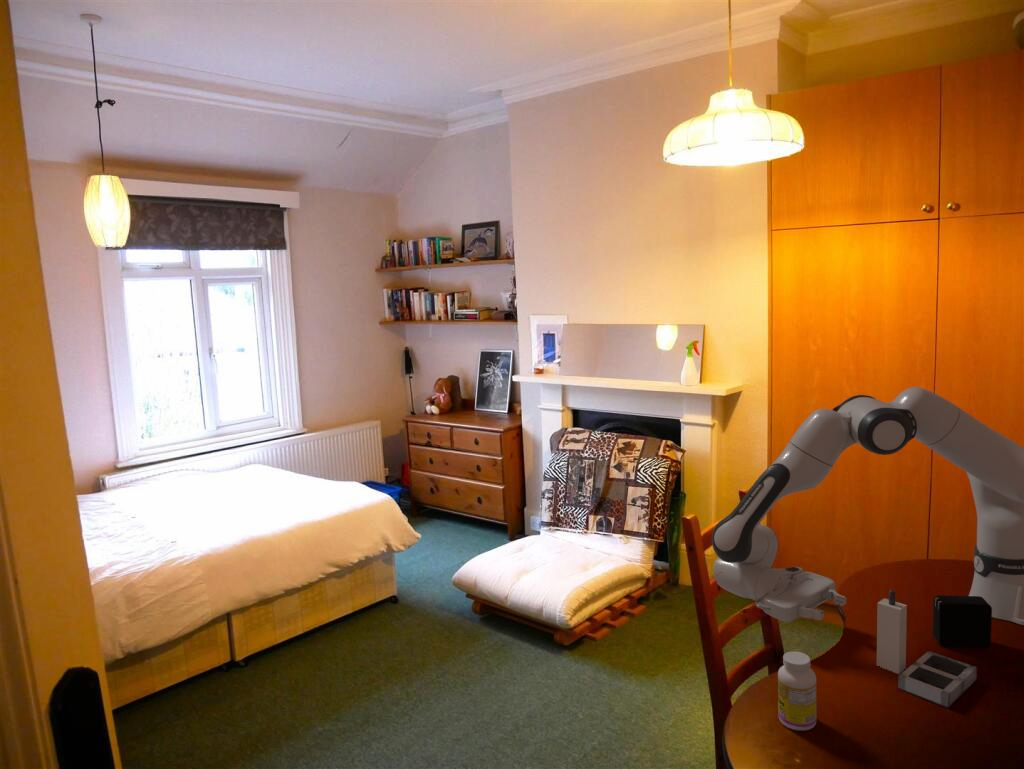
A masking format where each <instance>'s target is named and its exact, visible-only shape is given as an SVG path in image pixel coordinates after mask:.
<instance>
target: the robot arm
mask: <svg viewBox="0 0 1024 769" xmlns="http://www.w3.org/2000/svg"><path fill="white" fill-rule="evenodd" d="M913 439H915V440H917V441H919V442H920V443H922V444H923V445H925V446H926V447H927V448H929V449H931V450H932V451H934V452H935V453H936V454H938V455H940V456H941V457H943V458H944V459H945V460H948V462H950V463H952V464H954V465H955V466H957V467H958V468H960V469H961V470H963V471H965V473H966V475H967V477H968V480H969V484H970V487H971V491H972V496H973V500H974V504H975V510H976V520H977V522H976V545H975V546H974V551H973V552H974V553H973V567H974V574H973V579H972V584H971V587H970V591H969V594H968V596H980V597H982V598H983V599H984V600H985V601H986V602H987V603H988V604H989V605H990V606H991V607H992V618H994V619H998V620H1004V621H1008V622H1013V623H1016V624H1018V625H1021V626H1024V447H1023V446H1021V445H1019V444H1018V443H1017V442H1014V440H1012V439H1010V438H1008V437H1006V436H1005V435H1003V434H1001V433H999V432H998V431H996V430H995V429H992V428H991V427H989V426H987V425H986V424H984V423H983V422H981V421H980V420H978V419H976V418H975V417H973V416H972V415H971V414H969V413H967V411H965V410H963V409H962V408H960V407H959V406H957V405H956V404H954V403H952V401H950V400H948V399H946V398H944V397H942V396H941V395H939V394H937V393H934V392H932V391H930V390H928V389H925V388H923V387H920V386H919V387H918V386H912V387H908V388H906V389H904V390H902V391H901V392H900V393H899V394H898V395H897V396H896V397H895V398H894V399H893V400H892V401H889V402H884V401H883V400H879V399H877V398H876V397H873V396H871V395H865V394H857V395H853V396H850V397H847V398H846V399H845V400H843V401H842V402H841V403H840V404H839V405H836V406H835V407H834V408H832V409H829V408H819V409H816V410H814V411H813V412H812V413H810V414H809V416H807V418H806V419H805V420H804V421H803V422H802V423H801V424H800V426H799V427H798V428H797V430H796V431H795V433H793V435H792V437H791V438H790V439H789V442H788V443H787V445H785V447H784V449H783V450H782V451H781V453H780V454H779V455H778V457H777V458H776V460H774V462H773V463H772V464H771V465H769V466H768V467H767V468H766V469H765V470H764V471H763V472H762V473H761V474H760V475H759V477H758V478H757V479H756V481H755V482H754V483H753V485H751V487H750V488H749V489H748V491H747V492H746V493H745V495H744V496H743V497H742V499H740V501H739V503H738V504H737V505H736V506H735V507H734V509H733V510H732V512H730V513H729V514H727V516H725V517H724V518H722V519H721V520H720V521H718V523H716V524H715V526H714V528H713V530H712V534H711V545H712V548H713V551H714V553H715V555H716V556H717V558H716V559H715V561H714V564H713V569H712V570H713V571H712V572H713V578H714V577H715V578H714V580H715V582H716V581H717V582H716V583H717V585H719V587H720V588H722V589H724V590H726V591H727V592H730V593H731V594H734V595H735V596H737V597H741V598H744V599H751V600H753V601H755V602H754V603H755V604H754V605H755V606H756V608H758V609H761V610H763V612H764V613H765V614H766V615H769V616H771V617H772V618H774V619H776V620H778V621H781V622H782V623H783V622H784V623H792V622H793V621H795V620H797V619H799V618H802V619H803V618H804V619H813V620H817V621H821V620H822V619H823V618H825V615H824V614H825V611H824V610H822V609H820V608H818V606H820V605H822V604H824V603H825V602H826V601H833V602H834V603H835V605H837V606H841V607H843V606H844V605H846V604H847V597H846V596H844V595H841V594H839V593H838V592H837V591H836V582H835V581H834V580H833V579H831V578H830V577H827V576H823V575H821V574H817V573H814V572H812V571H804V570H803V568H802V567H799V566H791V567H787V568H786V567H785V568H773V566H774V564H775V561H776V558H777V555H778V551H779V547H780V546H779V544H780V543H779V538H778V536H777V534H776V532H775V531H774V530H773V529H772V528H771V527H769V526H767V525H764V524H761V522H762V521H763V520H764V519H765V517H766V516H767V514H768V513H769V512H770V510H771V509H772V508H773V507H774V505H775V504H776V503H777V502H778V501H779V500H781V499H783V498H785V497H787V496H789V495H792V494H796V493H799V492H803V491H804V492H805V491H808V490H813V489H815V488H816V487H818V486H819V485H820V484H821V483H822V482H823V481H824V480H825V479H826V478H827V477H828V475H829V474H830V472H831V471H832V469H833V467H834V466H835V465H836V463H837V461H838V459H839V457H840V456H841V454H843V452H844V451H845V450H846V449H847V448H849V447H851V446H852V445H854V444H855V445H856V444H858V445H860V446H862V448H864V449H865V450H867V451H868V452H870V453H873V454H876V455H881V456H885V455H886V456H889V455H893V454H895V453H897V452H899V451H901V450H902V449H903V448H904V447H906V446H907V444H908V443H909V442H910V441H911V440H913ZM720 572H722V573H720ZM719 573H720V574H719ZM717 574H718V576H716V575H717Z"/></svg>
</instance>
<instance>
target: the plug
mask: <svg viewBox="0 0 1024 769" xmlns="http://www.w3.org/2000/svg"><path fill="white" fill-rule="evenodd" d="M876 607H877V610H876V611H877V612H876V614H877V615H876V618H877V619H876V620H877V621H876V625H877V626H876V666H877V667H878V666H880V667H879V668H881V667H882V668H881V669H884V670H886V669H887V671H890V672H891V671H892V673H894V674H897V675H900V674H901V673H903V672H904V671H905V670H906V669H907V667H906V664H907V663H906V662H907V660H906V659H907V619H908V617H907V616H908V614H907V612H908V610H907V608H908V605H907V604H904V603H900V602H897V601H896V591H895V590H893V589H890V590H889V591H888V598H886V597H884V598H883V599H881V600H879V601H878V602H877V606H876ZM904 669H905V670H904Z"/></svg>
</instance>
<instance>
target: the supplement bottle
mask: <svg viewBox="0 0 1024 769" xmlns="http://www.w3.org/2000/svg"><path fill="white" fill-rule="evenodd" d="M782 660H783V661H782V663H783V665H782V666H780V667H779V669H778V672H777V683H778V684H777V706H778V707H777V709H778V711H777V714H778V719H779V721H780V723H781V724H782V725H784V726H785V727H786V728H788V729H792V730H794V731H799V732H800V731H802V732H803V731H809V730H812V729H813V728H814V727H815V725H816V724H817V676H816V673H815V672H814V670H813V669H811V665H812V664H811V657H810V656H809V655H807V654H806V653H804V652H801V651H788V652H785V653H784V654H783V656H782Z"/></svg>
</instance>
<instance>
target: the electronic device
mask: <svg viewBox="0 0 1024 769" xmlns="http://www.w3.org/2000/svg"><path fill="white" fill-rule="evenodd" d="M932 612H933V613H932V636H933V637H934V639H935V640H936V642H937V643H938V644H939V645H940V646H941V647H942V646H944V647H943V648H959V647H962V649H963V648H964V649H985V650H986V649H988V648H990V647H991V642H992V641H991V640H992V619H993V617H992V607H991V606H990V605H989V604H988V603H987V602H986V601H985V600H984V599H983V598H982V597H980V596H969V595H946V594H945V595H941V594H940V595H939V594H938V595H935V596H934V597H933V609H932ZM945 646H946V647H945Z"/></svg>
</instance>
